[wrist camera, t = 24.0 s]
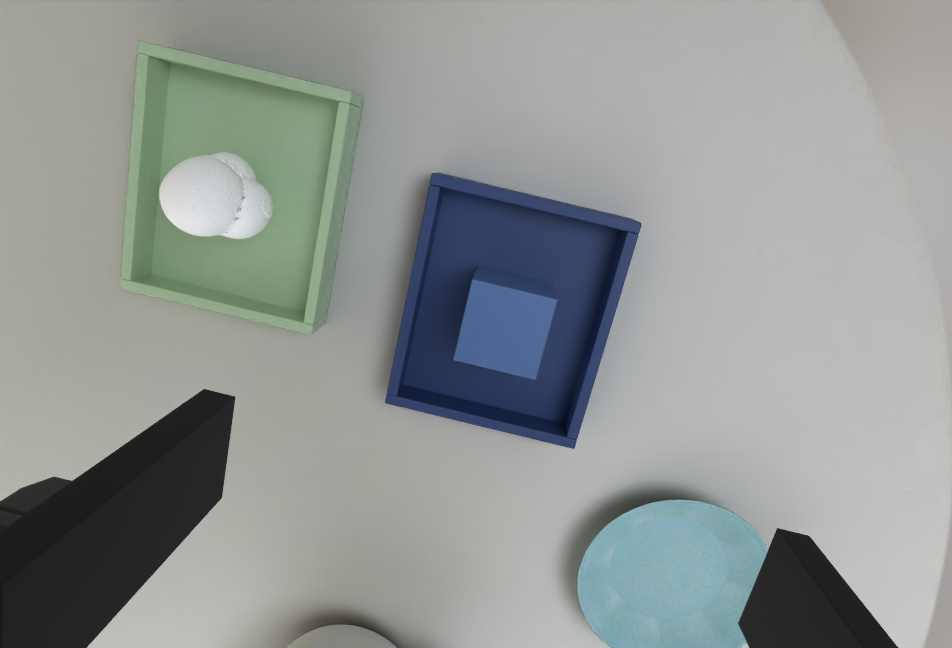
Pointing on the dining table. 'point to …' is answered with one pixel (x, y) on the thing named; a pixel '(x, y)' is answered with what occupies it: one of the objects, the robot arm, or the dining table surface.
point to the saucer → (670, 576)
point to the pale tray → (276, 168)
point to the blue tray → (521, 253)
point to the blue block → (506, 322)
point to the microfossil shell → (215, 197)
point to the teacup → (341, 638)
